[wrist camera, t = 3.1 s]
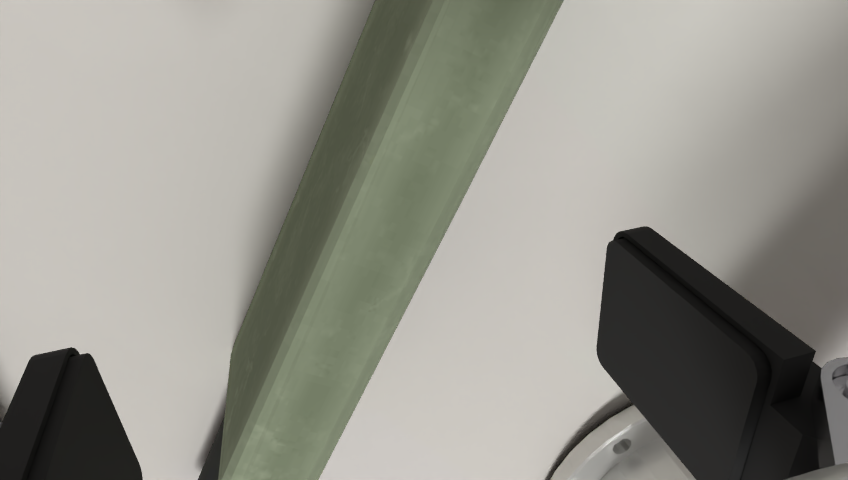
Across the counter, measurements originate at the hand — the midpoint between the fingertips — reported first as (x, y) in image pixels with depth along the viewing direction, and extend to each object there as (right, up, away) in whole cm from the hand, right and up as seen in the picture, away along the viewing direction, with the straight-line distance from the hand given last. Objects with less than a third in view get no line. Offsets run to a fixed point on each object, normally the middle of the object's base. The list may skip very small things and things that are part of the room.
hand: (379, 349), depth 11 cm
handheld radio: (-2, +4, +8) cm, 9 cm away
